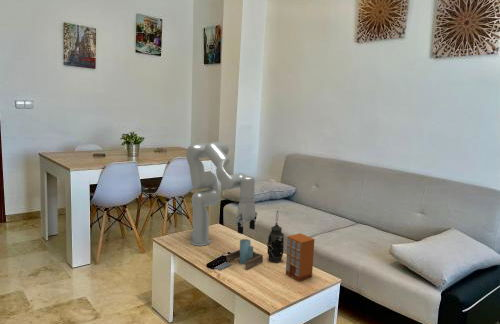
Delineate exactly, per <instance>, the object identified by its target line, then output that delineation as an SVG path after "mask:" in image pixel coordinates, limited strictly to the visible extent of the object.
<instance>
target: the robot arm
mask: <svg viewBox="0 0 500 324" xmlns="http://www.w3.org/2000/svg"><path fill="white" fill-rule="evenodd" d="M185 151H186V153H185V158H186V160H187V164H188V167H189V174H190V180H191V181H190V182H191V186H192V188H193V189H195V190H200V189H205V190H200V191H195V192H194V193H193V194H192V196H191V198H190V199H191V205H192V231H191V232H190V233H189V234H188V236H189V237H191V238H190V240H189V243H190V244H191V245H192V246H196V247H198V246H199V247H202V246H204V247H205V246H208V245H210V244H211V243H212V240H211V239H210V238H209V225H210V213H209V211H208V209H207V207H210V206H214V205H217V204H218V203H219V202H220V191H219V190H220V189H219V186H218V185H219V184H218V182H219V183H220V184H221V186H222V187H224V188H225V190H234V189H239V203H238V206H237V212H236V213H237V215H236V217H235V219H234V221H235V225H236V226H237V233H238V234H241V235H243V234H244V224H245V223H248V222H249V223H248V224H249V225H248V226H249V227H248V228H249V229H250V230H253V231H254V230H255V229H256V219H257V216H258V212H257V211H256V205H255V183H256V182H255V181H256V179H255V177H254V176H253V175H247V174H244V173H242V172H241V173H234V174H228V172H227V171H226V170H225V169H226V168H227V167H228V165H230V162H231V161H230V157H228V154H229V152H230V151H229V146H228V144H227V143H226V142H225V141H213V142H212V141H211V142H206V143H205V142H203V143H194V144H191V145H189V146H188V147H187V149H186V150H185ZM201 158H202V159H203V158H209V160H210V161H211V162H212V164H214V165H213V166H215V167H216V169H215V173H216V174H215V173H213V172H212V171H205V166H204V164H203V161H201Z"/></svg>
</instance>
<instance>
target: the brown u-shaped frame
mask: <svg viewBox="0 0 500 324" xmlns="http://www.w3.org/2000/svg"><path fill="white" fill-rule="evenodd" d="M239 258H240V249H237V250H236V251H233V252H230V253H228V254H226V260H225V262H226V261H227V262H229V263H231V262H233V261H235V260H237V259H238V260H239ZM263 260H264V255H263V254H262V253H258V252H256V251H253V258H250V260H249V261H247V262H246V264H245V266H244V267H245V270H246V271H249V270H250V269H252V268H254V267H257V266H259V265H260V264H262V263H263Z"/></svg>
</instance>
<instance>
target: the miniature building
mask: <svg viewBox="0 0 500 324" xmlns="http://www.w3.org/2000/svg"><path fill="white" fill-rule="evenodd" d="M286 241H287V243H286V260H285V262H286V263H285V275H287V276H288V277H290V278H292V279H294V280H296V281H297V282H303V281H306V280H308V279H310V278H311V279H312V278H313V268H314V267H313V266H314V252H315V251H314V250H315V238H313V237H310V236H308V235H305V234H302V233H301V232H299V233H296V234H292V235H288V236H287V240H286Z"/></svg>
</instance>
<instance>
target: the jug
mask: <svg viewBox="0 0 500 324" xmlns="http://www.w3.org/2000/svg"><path fill="white" fill-rule="evenodd" d="M251 243H252V241H251V240H250V239H248V238H242V239H240V241H239V250H240V258H238V260H239V261H238V262H239V264H241V265H246V262H247V261H249V260H251V259H250V258H253V252H254V246H251Z"/></svg>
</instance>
